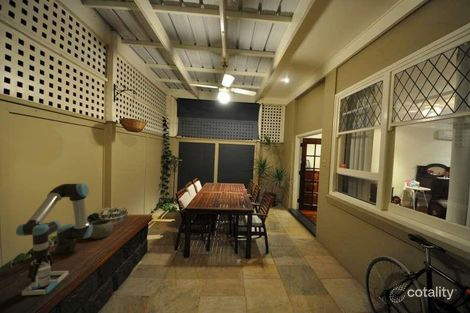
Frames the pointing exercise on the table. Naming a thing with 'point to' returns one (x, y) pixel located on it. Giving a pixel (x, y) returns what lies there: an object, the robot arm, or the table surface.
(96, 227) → the bowl
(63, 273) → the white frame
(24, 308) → the table surface
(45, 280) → the ink box
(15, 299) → the table surface
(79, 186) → the robot arm
